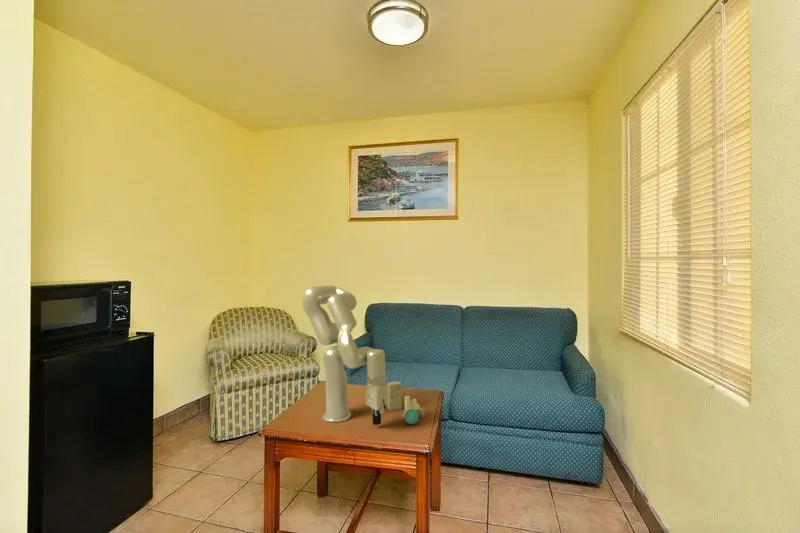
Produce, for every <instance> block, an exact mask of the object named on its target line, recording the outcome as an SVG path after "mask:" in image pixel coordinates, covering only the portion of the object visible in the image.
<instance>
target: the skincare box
mask: <svg viewBox="0 0 800 533" xmlns="http://www.w3.org/2000/svg"><path fill="white" fill-rule="evenodd" d="M402 386H403V385H402V382H400V381H398V380H397V381H396V380H395V381H389V382H386V409H387V410H388V411H389V412H393V411H397V410H398V411H399V410H402V409H403V408H402V405H403V404H402V403H403V402H402V401H403V400H402V397H403V396H402V393H403V392H402Z"/></svg>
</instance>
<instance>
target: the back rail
mask: <svg viewBox="0 0 800 533" xmlns="http://www.w3.org/2000/svg"><path fill="white" fill-rule="evenodd" d="M410 408H411V402H410ZM417 413H418V416H419V418H425V417H426V414H425V409H423V408H422V407H420V408H419V409H418V410H417Z"/></svg>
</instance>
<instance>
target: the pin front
mask: <svg viewBox="0 0 800 533" xmlns="http://www.w3.org/2000/svg"><path fill="white" fill-rule="evenodd" d="M419 408H421V405H420V404H419V403H418V402H417V410H418V409H419ZM410 409H411V408H410ZM405 413H406V412H405V411H404V413H403V414H402V418H403V419H404V420H405V417H404V416H405Z"/></svg>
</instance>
